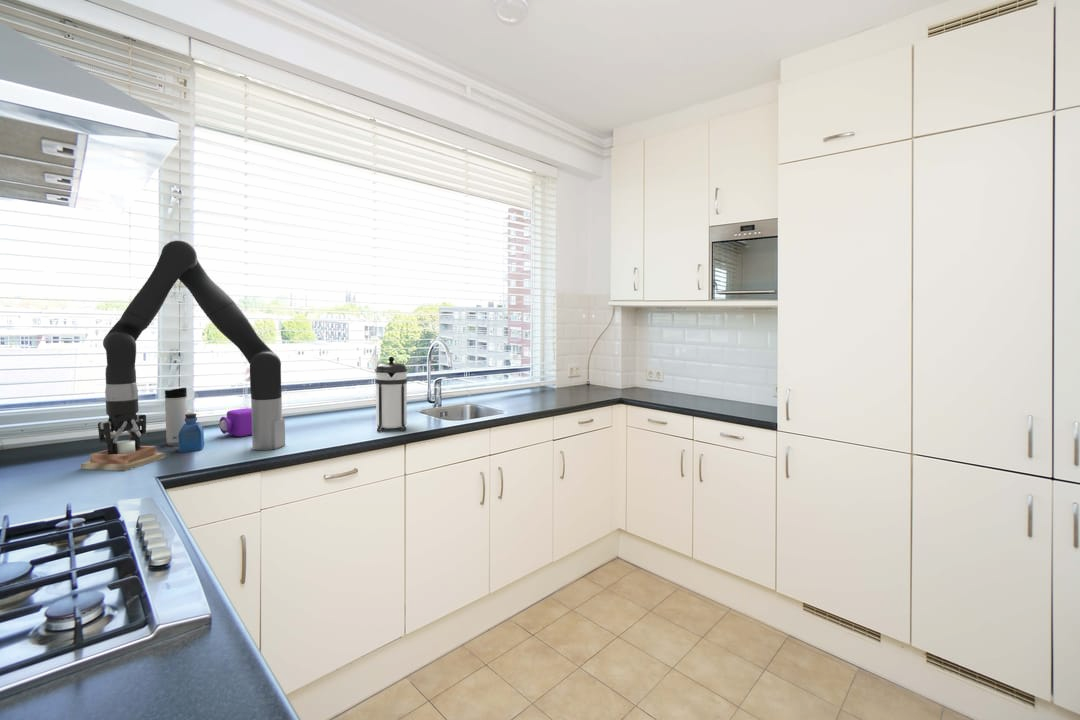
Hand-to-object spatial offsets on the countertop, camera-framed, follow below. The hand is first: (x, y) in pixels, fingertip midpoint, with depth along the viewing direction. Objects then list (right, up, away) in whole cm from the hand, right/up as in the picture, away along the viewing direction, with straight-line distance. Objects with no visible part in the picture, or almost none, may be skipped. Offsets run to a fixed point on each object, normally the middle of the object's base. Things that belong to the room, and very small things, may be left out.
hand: (124, 451), depth 152 cm
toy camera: (+12, -1, +39) cm, 41 cm away
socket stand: (0, -3, 0) cm, 3 cm away
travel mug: (-1, -2, +24) cm, 24 cm away
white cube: (0, -2, 0) cm, 2 cm away
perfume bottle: (+8, -3, +18) cm, 20 cm away
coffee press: (+65, -1, +55) cm, 85 cm away
